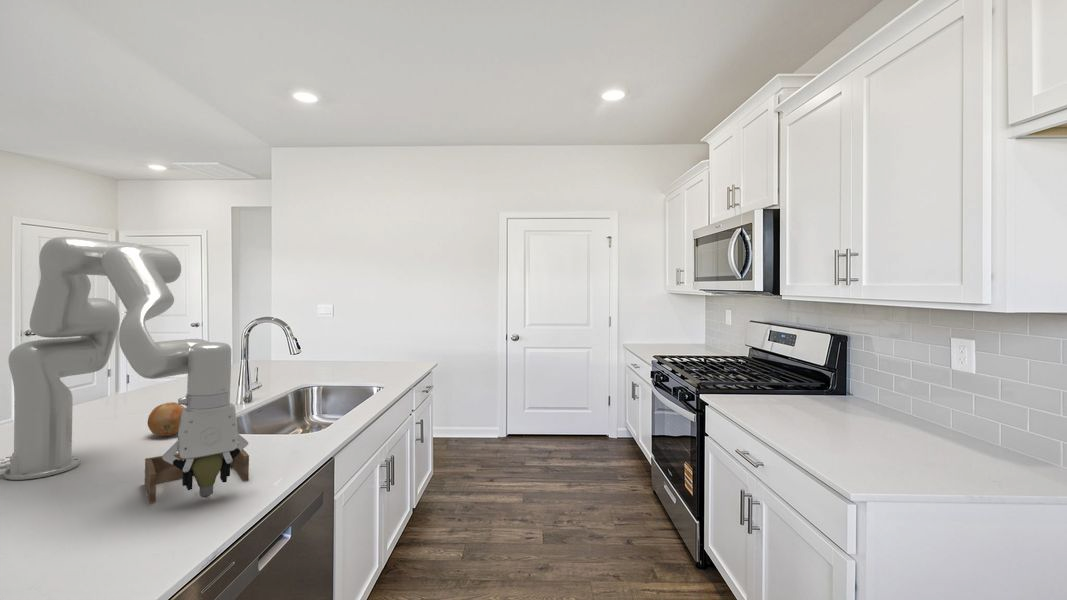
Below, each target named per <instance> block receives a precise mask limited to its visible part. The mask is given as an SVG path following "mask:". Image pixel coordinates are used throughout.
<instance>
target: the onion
mask: <svg viewBox="0 0 1067 600" xmlns="http://www.w3.org/2000/svg"><path fill="white" fill-rule="evenodd" d="M184 408H186V406H184V405H183V404H182V405H178V402H172V401H170V402H166V403H162V404H159V405H157V406H155V408H153V409H152V410H151V412H150V414H149V415H148V418H147V427H148V429H149V431H150V432H151V433H152V434H154V435H155V436H159V437H171V436H174V435H178V432H179V424H180V419H181V415H182V411H183V409H184Z"/></svg>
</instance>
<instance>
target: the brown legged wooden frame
mask: <svg viewBox="0 0 1067 600" xmlns="http://www.w3.org/2000/svg"><path fill="white" fill-rule="evenodd" d="M237 445H238V442H237ZM220 455H221V457H222V459H223V456H222V454H220ZM162 456H163V455H159V456H154V457H153V456H152V457H145V460H144V488H145V487H146V488H145V490H146V491H147V492H146V494H147V495H148V496H147V495H146V496H147V499H148V502H149V504H152V503H153V502H154V503H156V502H157V498H156V497H157V484H161V483H165V482H171V481H176V480H179V479H183V471H182V470H181V469H179V468H177V467H176V466H174V465H173V464H170V463H168V462H166V461H164V460H163V458H162ZM174 457H176V458H179V459H180V460H182V461H183V459H182V458H181V457H180V456H179V452H176V453H175V454H174ZM232 467H233V470H234V471H235V470H236V471H235V472H236V473H237V475H238V476H239V477H240V479H241V480H242V482H248V481H249V471H250V455H249V454H248V452H246V450H245V448H244V449H243V450H241V451H240V453H239V454H238V455H237V456H236V457H235V458H234V459H233V460H232V462H231V463H230V469H232ZM156 483H157V484H156Z"/></svg>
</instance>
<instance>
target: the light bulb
mask: <svg viewBox="0 0 1067 600" xmlns="http://www.w3.org/2000/svg"><path fill="white" fill-rule="evenodd" d="M222 463H223V460H222V457H221V455H220V454H216V455H210V456H205V457H200V458H194V460H193V463H192V465H191V470H192V471H193V478H194V479H195V480H196V484H197V487H198V488H199V492H198V493H199V495H198V496H199V497H202V498H204V499H207V498H210V496H211V495H213V494H214V486H215V485H214V484H215V483H216V480H217V477H218V475H219V474H220V470H221V467H222Z"/></svg>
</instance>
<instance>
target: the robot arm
mask: <svg viewBox="0 0 1067 600" xmlns="http://www.w3.org/2000/svg"><path fill="white" fill-rule="evenodd" d="M38 257H39V258H38V260H39V261H38V262H39V271H40V279H39V285H38V288H37V291H36V295H35V298H34V302H33V306H32V308H31V309H32V310H31V313H30V318H29V329H30V330H31V332H32V333H33V334H35V335H36V336H39V337H42V338H48V339H38V340H31V341H26V342H24V343H20V344H19V345H18V344H17V346H15V347H14V348H13V349H12V350H11V351H10V353H9V355H8V368H9V370H10V375H11V379H12V384H13V394H14V395H13V396H14V397H13V398H14V401H13V403H14V406H13V407H14V408H13V410H14V415H13V417H14V419H13V420H14V421H13V422H14V427H13V428H14V429H13V430H14V431H13V432H14V433H13V452H12V454H11V456H6V457H5V458H1V459H0V470H3V474H2V477H3V478H4V479H6V480H12V481H20V480H21V481H23V480H32V479H38V478H44V477H50V476H53V475H57V474H61V473H65V472H67V471H70V470H72V469H75V468H76V467H78V466H79V465H80V464H81V457H79V456H77V455H73V454H72V453H73V452H72V451H73V446H72V445H73V406H74V405H73V393H72V390H70V389H69V387H68V386H66V384H65V383H64V382H63V381H62V380H61V378H66V377H70V376H78V375H84V374H85V375H86V374H92V373H95V372H99V371H101V370H102V369H103V368H105V366H106V365H107V364H108V361H109V359H110V357H111V354H112V349H113V346H114V343H115V341H116V340H115V339H116V337H117V333H118V329H119V335H118V340H119V347H120V349H121V351H122V353H123V354H124V356H125V358H126V360H127V362H128V364H129V365H130V366H131V368H132V369H133V371H134V372H136V374H138V375H139V376H141V377H142V378H144V379H151V380H153V379H154V380H156V379H161V378H167V377H169V378H170V377H174V376H180V375H187V381H186V382H187V390H186V395H184V396H183V397H181V398H178V399H177V403H178V405H182V406H184V407H185V408H184V409H183V411H182V415H181V419H180V424H179V432H178V433H177V440H176V442H174V443H173V444H172V445H171V446H170V448H169V449H168V450H166V451H165V453H164V454H163V455H161V456H162V458H163V460H164V461H166V462H168V463H170V464H173V465H174V466H176V467H177V468H179V469H181V470H182V471H183V478H181V479H182V480H181V481H182V487H186V489H187V491H192V490H193V483H194V481H193V478H194V476H193V471H192V470H191V465H192V463H193V460H194V458H200V457H205V456H210V455H216V454H222V456H223V459H222V460H223V463H222V467H221V470H220V471H219V478H220V481H221V482H222V483H228V477H230V476H231V468H230V463H231V462H232V460H233V459H234V458H235V457H236V456H237V455H238V454H239V453H240V451H241V450H243V449H244V450H245V448H247V446H249V440H247V439H246V438H244V437H243V436H242V435H241V434H239V433H238V420H237V419H238V418H237V413H236V407H235V406H236V405H235V404H233V403H232V402H231V384H232V382H231V380H232V378H231V376H232V348H231V346H230V345H229V344H228V343H225V342H218V341H215V342H214V341H212V342H211V341H208V340H205V339H200V338H188V339H174V340H165V341H163V340H162V341H155V340H154V339H153V338H152V335H151V334H150V332H149V331H148V329H147V326H146V321H148V320H151V319H153V318H156V317H157V316H160V315H162V314H163V313H165V312H167V311H168V310H169V309H171V307H172V306H173V305H174V303H175V297H174V295H173V293H172V291H171V290H170V288H169V287H168V285H167V284H172V283H174V282H175V281H177V280H178V279H179V278H180V276H181V273H182V265H181V261H180V259H179V258H178V257H177V256H176V254H175V253H173V252H172V251H170V250H168V249H166V248H159V247H154V246H149V245H144V244H138V243H133V242H132V243H131V242H125V241H115V240H106V239H96V238H90V237H89V238H88V237H87V238H86V237H78V236H77V237H75V236H59V237H58V236H57V237H53V238H51V239H49V240H47V242H45V243H44V244H43V245H42V247H41V249H40V252H39V256H38ZM88 276H101V277H102V276H103V277H104V276H105V277H107V279H108V281H109V282H110V284H111V285H112V287H113V289H114V290H115V292H116V294H117V296H118V297H119V299H120V300H121V303H122V304H123V306H124V307H125V309H126V311H127V312H126V314H125V315H124V316H123V319H122V321H121V323H120V320H121V318H120V312H119V309H118V307H117V305H116V304H115V303H114V302H113V301H111V300H109V299H106V298H102V297H101V298H100V297H90V296H89V295H90V292H91V289H92V288H91V287H92V283H91V280H90V278H89V277H88ZM119 326H120V327H119ZM49 338H50V339H49ZM237 442H238V445H237ZM175 453H179V456H180V457H181V458H182V459H183V461H182V460H180V459H179V458H176V457H174V454H175Z"/></svg>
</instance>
